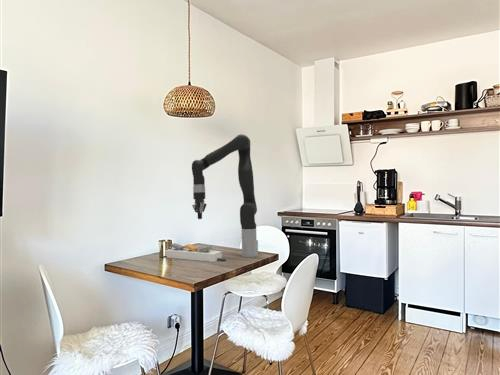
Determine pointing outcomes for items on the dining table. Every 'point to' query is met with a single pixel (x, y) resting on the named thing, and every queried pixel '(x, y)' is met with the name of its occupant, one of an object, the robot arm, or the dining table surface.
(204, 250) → the rocker near
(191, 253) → the power strip
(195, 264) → the dining table surface
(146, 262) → the dining table surface
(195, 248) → the rocker middle
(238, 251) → the dining table surface
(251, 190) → the robot arm
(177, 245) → the rocker far
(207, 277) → the dining table surface
